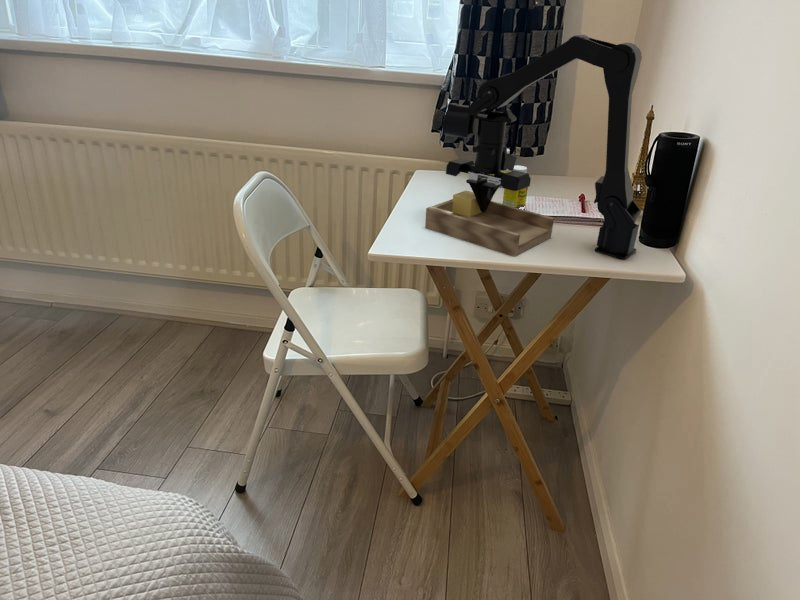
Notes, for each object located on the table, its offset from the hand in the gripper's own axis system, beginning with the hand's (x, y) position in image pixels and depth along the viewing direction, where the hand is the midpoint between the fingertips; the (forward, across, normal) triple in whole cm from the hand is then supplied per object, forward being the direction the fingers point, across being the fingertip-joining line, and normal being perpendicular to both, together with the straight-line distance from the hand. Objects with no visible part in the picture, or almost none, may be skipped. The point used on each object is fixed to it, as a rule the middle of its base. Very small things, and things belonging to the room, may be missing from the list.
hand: (483, 211), depth 136 cm
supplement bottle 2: (+3, +1, -16) cm, 16 cm away
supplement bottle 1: (+3, +15, -30) cm, 34 cm away
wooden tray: (+3, -4, +4) cm, 6 cm away
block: (+1, +4, 0) cm, 4 cm away
